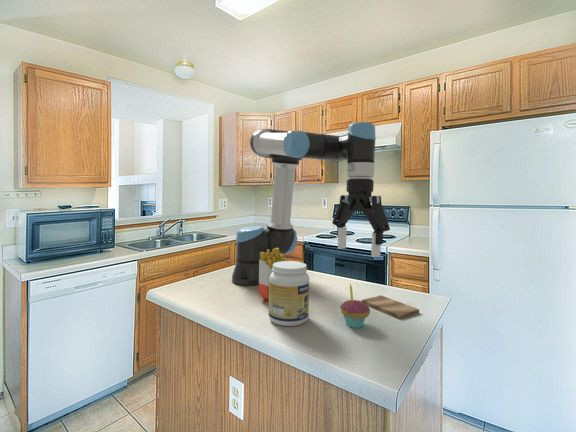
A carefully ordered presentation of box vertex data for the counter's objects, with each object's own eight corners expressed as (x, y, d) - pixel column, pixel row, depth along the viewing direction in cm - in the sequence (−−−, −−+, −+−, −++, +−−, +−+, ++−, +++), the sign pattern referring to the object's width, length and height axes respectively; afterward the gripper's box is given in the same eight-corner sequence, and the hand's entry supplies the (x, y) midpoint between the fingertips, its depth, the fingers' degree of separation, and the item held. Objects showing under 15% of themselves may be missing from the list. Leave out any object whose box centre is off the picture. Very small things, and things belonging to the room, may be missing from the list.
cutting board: (361, 303, 109) (361, 299, 109) (380, 298, 115) (380, 295, 115) (399, 319, 96) (399, 315, 96) (419, 312, 101) (419, 309, 101)
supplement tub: (303, 330, 87) (304, 270, 86) (262, 324, 90) (263, 267, 89) (311, 314, 99) (313, 261, 97) (275, 309, 102) (276, 258, 101)
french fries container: (288, 296, 115) (289, 248, 113) (267, 304, 107) (268, 252, 105) (279, 293, 118) (280, 247, 116) (258, 300, 110) (259, 250, 108)
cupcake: (334, 324, 91) (335, 284, 90) (349, 316, 97) (351, 279, 96) (360, 333, 85) (361, 291, 84) (374, 324, 91) (376, 285, 91)
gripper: (322, 179, 97) (320, 246, 98) (386, 176, 76) (382, 261, 77) (340, 180, 101) (338, 244, 102) (405, 177, 80) (402, 258, 81)
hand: (357, 252), depth 90 cm, fingers open, 13 cm apart
